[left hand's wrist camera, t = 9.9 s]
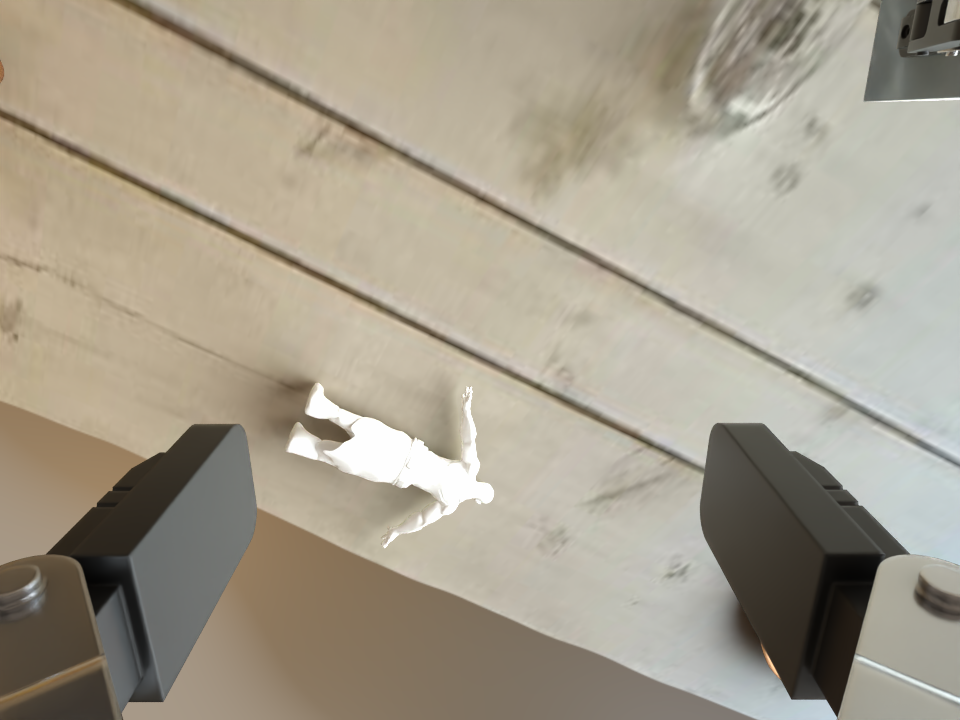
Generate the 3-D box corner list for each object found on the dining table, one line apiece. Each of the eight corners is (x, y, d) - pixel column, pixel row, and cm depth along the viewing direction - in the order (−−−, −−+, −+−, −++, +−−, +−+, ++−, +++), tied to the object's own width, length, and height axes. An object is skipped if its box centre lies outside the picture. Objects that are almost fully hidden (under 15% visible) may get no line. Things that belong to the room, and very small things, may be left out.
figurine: (265, 482, 57) (445, 546, 62) (253, 518, 52) (449, 584, 57) (344, 317, 51) (533, 401, 56) (338, 340, 47) (546, 430, 52)
